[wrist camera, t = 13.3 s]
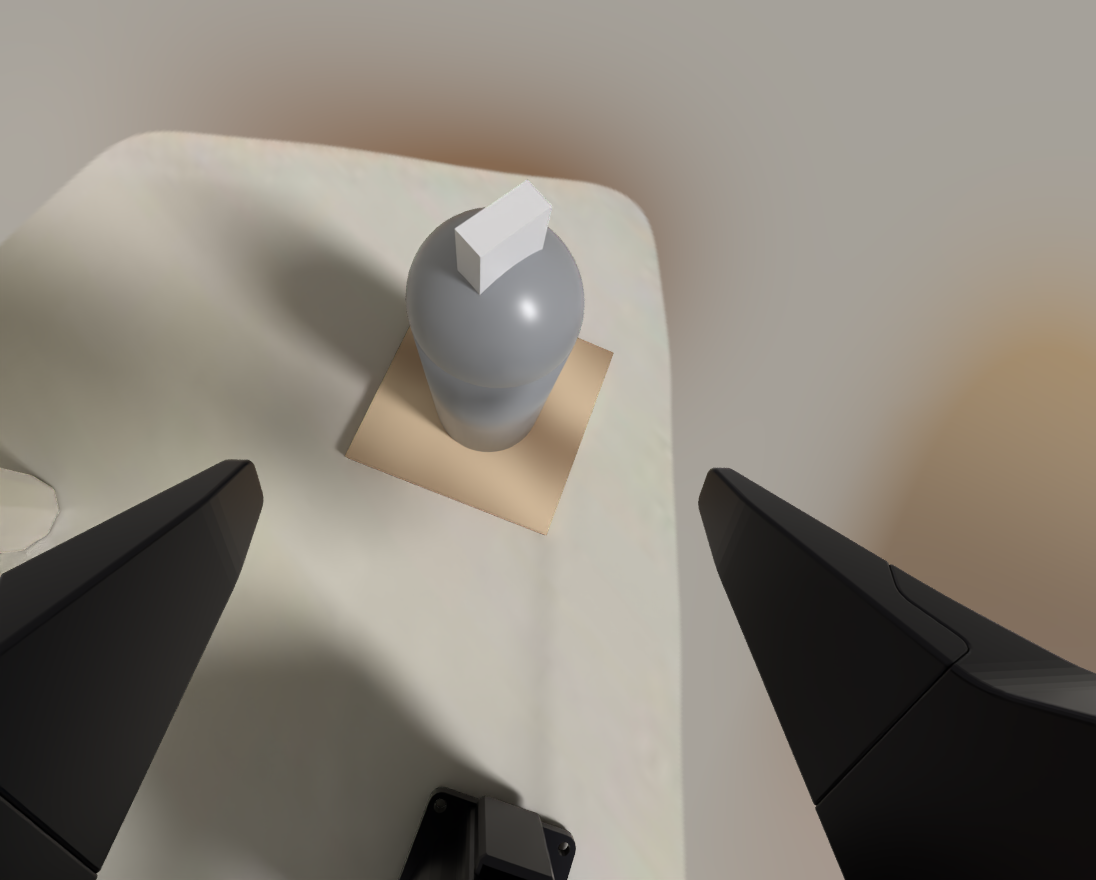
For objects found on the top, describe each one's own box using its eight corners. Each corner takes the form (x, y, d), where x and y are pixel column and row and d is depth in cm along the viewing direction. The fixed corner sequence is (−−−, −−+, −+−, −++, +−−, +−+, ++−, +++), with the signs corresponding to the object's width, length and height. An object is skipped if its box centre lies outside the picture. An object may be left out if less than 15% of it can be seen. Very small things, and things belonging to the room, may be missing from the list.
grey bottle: (482, 473, 22) (492, 378, 9) (414, 395, 23) (325, 192, 9) (559, 408, 24) (666, 239, 10) (493, 334, 24) (514, 78, 11)
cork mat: (544, 535, 23) (546, 535, 22) (348, 458, 22) (344, 455, 22) (610, 357, 25) (613, 352, 25) (434, 283, 25) (433, 277, 24)
